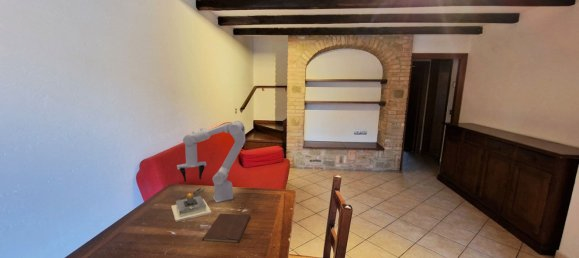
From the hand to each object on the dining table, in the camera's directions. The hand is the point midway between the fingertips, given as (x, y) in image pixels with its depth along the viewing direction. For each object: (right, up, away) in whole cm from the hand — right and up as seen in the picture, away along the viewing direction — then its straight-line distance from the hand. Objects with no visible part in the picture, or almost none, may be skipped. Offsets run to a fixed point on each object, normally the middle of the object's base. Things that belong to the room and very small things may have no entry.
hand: (192, 180), depth 138 cm
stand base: (+4, -13, -12) cm, 18 cm away
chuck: (+4, -13, -12) cm, 18 cm away
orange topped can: (+4, -12, -12) cm, 18 cm away
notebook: (+26, -16, -27) cm, 41 cm away
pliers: (-3, -10, +5) cm, 12 cm away
